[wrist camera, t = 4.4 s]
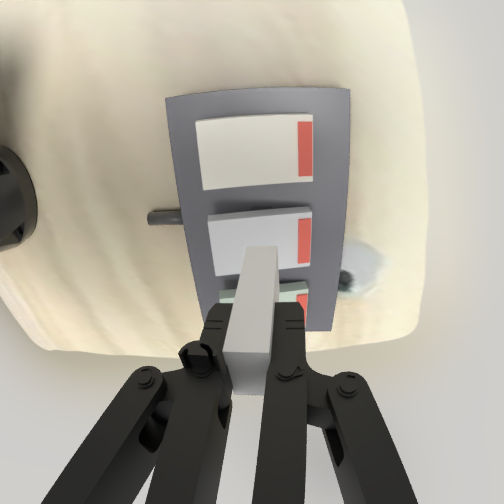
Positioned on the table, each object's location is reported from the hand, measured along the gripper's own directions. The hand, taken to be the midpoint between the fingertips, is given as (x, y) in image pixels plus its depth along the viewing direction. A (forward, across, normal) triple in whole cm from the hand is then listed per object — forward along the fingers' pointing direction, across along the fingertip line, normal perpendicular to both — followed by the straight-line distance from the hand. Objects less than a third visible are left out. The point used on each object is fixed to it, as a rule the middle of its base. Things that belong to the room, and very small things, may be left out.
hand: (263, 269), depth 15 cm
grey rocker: (+9, -1, -3) cm, 9 cm away
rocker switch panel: (+14, -4, -3) cm, 15 cm away
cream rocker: (+9, -1, +4) cm, 10 cm away
